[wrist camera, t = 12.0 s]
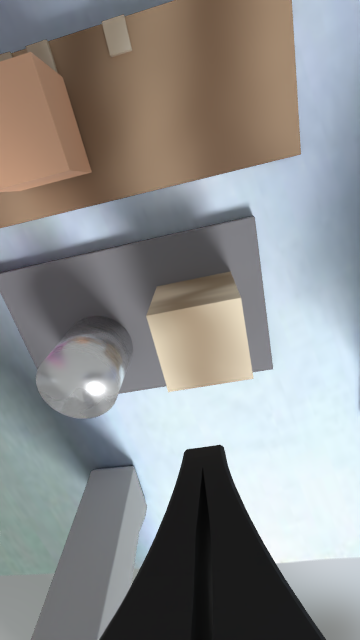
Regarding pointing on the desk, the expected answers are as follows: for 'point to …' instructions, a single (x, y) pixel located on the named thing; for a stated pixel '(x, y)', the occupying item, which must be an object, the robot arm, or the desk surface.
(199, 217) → the desk surface
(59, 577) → the vintage mobile phone
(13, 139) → the block
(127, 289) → the mat
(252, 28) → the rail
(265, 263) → the desk surface
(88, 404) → the grey cylinder
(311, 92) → the desk surface
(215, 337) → the birch cube
